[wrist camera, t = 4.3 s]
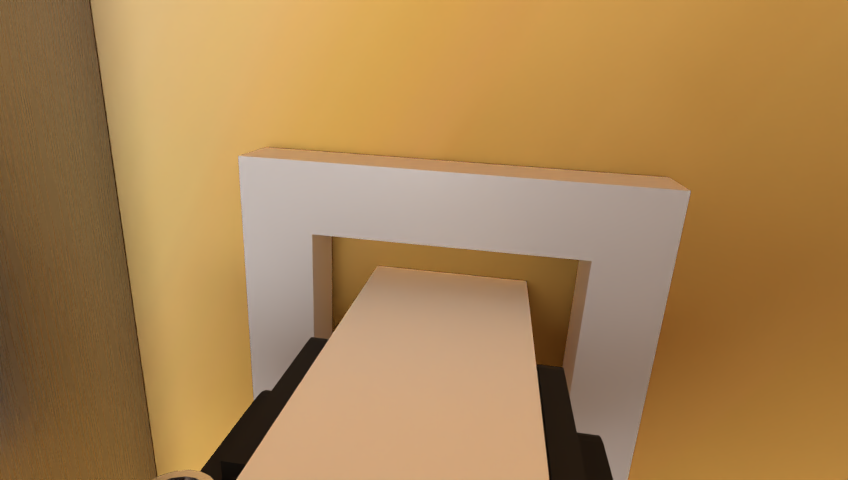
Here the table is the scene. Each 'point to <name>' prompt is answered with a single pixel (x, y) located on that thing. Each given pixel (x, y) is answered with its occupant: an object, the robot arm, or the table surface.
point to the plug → (417, 388)
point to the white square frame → (476, 230)
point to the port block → (63, 262)
